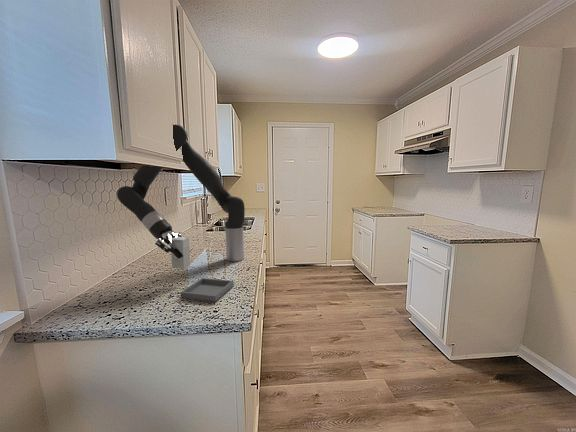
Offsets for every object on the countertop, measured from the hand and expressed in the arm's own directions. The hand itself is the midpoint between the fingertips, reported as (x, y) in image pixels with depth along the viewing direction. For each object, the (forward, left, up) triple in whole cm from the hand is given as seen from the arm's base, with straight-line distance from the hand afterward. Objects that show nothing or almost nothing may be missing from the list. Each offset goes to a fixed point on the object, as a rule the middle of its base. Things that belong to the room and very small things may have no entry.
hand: (184, 255), depth 106 cm
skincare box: (0, -2, -5) cm, 6 cm away
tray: (+5, +13, -12) cm, 19 cm away
